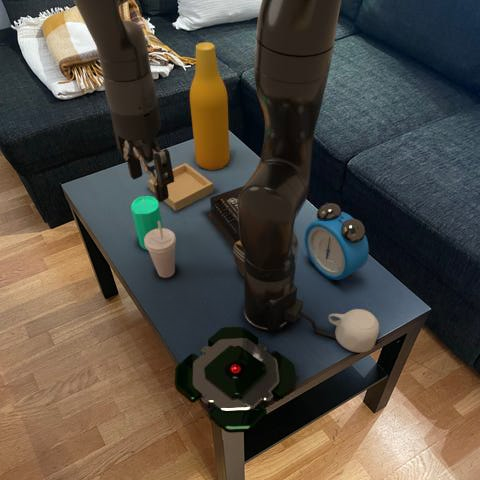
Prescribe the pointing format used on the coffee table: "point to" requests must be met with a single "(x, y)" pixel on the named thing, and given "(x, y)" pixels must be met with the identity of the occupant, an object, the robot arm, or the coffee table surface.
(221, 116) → the beer bottle
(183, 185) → the tray
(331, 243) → the alarm clock
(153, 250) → the smoothie
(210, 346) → the four-lobed dark green device
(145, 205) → the candle
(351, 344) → the teacup
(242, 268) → the doughnut
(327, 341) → the coffee table surface
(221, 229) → the black electronic device
